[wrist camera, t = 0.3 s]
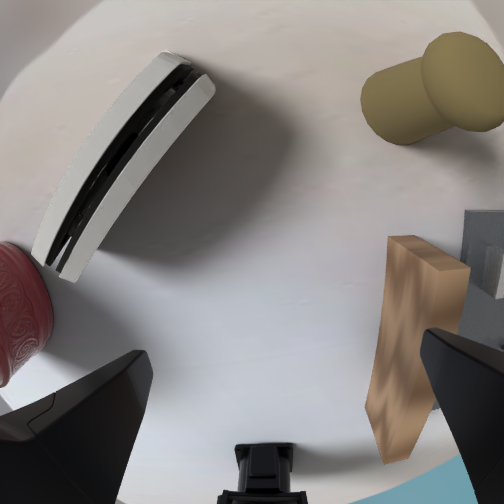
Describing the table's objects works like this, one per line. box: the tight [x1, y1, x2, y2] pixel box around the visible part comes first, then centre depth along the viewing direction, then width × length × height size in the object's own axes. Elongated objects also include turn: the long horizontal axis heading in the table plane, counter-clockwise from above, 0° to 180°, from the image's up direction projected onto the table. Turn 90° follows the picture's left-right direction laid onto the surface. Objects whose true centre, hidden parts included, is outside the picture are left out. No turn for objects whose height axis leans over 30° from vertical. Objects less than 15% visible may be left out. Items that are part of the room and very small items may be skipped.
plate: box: [431, 210, 504, 410], centre depth 21 cm, size 22×11×4 cm, turn 4°
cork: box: [361, 32, 504, 145], centre depth 13 cm, size 6×6×11 cm
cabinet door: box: [365, 235, 471, 464], centre depth 20 cm, size 18×4×8 cm, turn 4°
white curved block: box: [31, 50, 215, 283], centre depth 17 cm, size 17×5×10 cm, turn 138°
